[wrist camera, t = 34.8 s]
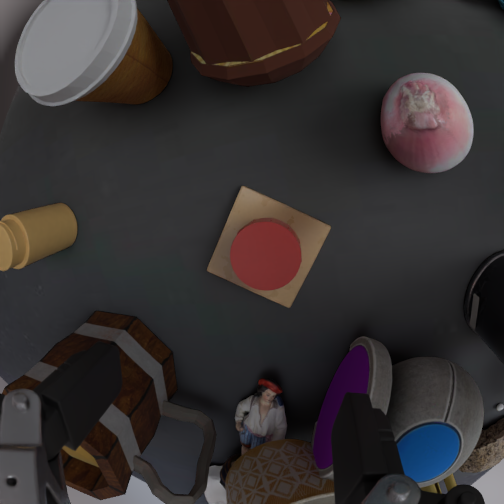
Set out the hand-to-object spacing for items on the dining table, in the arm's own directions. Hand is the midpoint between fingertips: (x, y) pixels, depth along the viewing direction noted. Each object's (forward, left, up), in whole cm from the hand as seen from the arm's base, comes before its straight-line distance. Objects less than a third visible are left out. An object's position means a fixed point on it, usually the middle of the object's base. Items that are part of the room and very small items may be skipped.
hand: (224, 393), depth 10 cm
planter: (-11, +20, -13) cm, 26 cm away
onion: (-7, -16, -18) cm, 25 cm away
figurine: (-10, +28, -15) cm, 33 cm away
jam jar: (+21, +6, -18) cm, 28 cm away
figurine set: (-41, +6, -18) cm, 45 cm away
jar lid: (0, 0, -16) cm, 16 cm away
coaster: (0, -1, -18) cm, 18 cm away
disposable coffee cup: (+17, -11, -18) cm, 27 cm away
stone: (-36, +14, -16) cm, 42 cm away
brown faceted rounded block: (+10, -19, -8) cm, 23 cm away
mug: (+6, +18, -18) cm, 26 cm away
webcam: (-11, +8, -12) cm, 18 cm away
